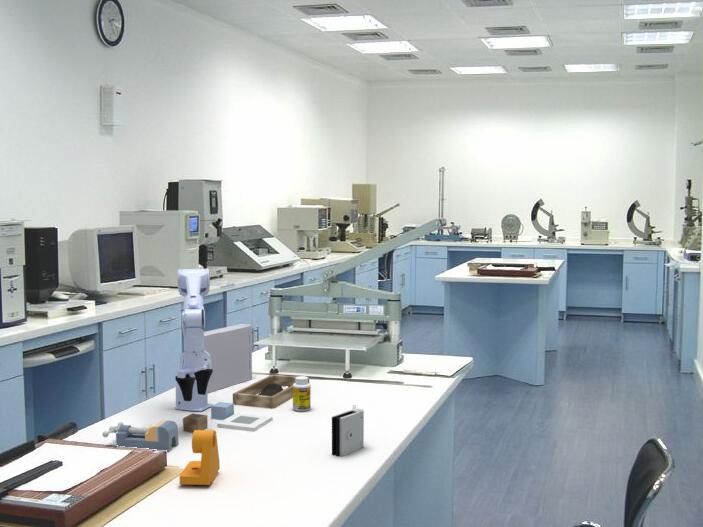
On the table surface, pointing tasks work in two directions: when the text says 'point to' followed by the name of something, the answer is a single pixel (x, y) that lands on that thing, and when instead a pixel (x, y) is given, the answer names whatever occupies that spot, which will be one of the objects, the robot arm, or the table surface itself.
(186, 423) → the walnut block
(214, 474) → the bracket
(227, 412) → the blue block
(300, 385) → the supplement bottle
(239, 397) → the plank frame
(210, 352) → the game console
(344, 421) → the hinge
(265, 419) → the board
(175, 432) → the vise
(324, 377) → the table surface
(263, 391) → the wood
